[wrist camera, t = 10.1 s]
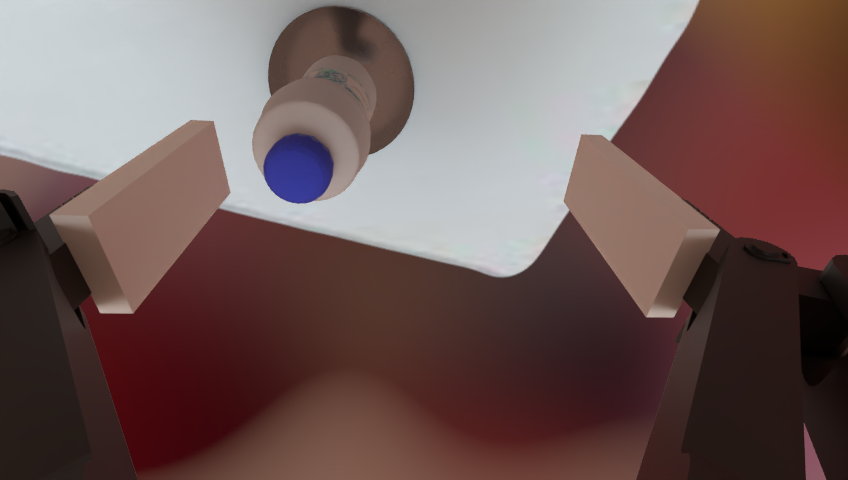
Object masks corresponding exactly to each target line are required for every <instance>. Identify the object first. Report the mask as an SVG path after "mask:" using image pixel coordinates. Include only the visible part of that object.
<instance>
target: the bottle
mask: <svg viewBox="0 0 848 480" xmlns="http://www.w3.org/2000/svg"><path fill="white" fill-rule="evenodd" d="M375 106H376V87H375V84H374V82H373V80H372V78H371V76H370V74H369V73H368V72H367V70H366V69H365V67H364V66H363V65H362V64H361V63H359V62H358V61H356V60H353V59H351V58H348V57H344V56H340V55H331V56H327V57H324V58H322V59H320V60H318V61H317V62H315V63H314V64H313V65H312V66H311V67H310V68H309V69H308V70H307V72H306V73H305V74H304V76H303V78H302V79H299V80H296V81H293V82H291V83H289V84H287V85H286V86H284V87H282V88H280V89H279V90H278V91H276V92H275V93H274V94H273V95H272V96H271V97H270V99H269V100H268V102H267V103H266V105H265V107H264V109H263V112H262V115H261V117H260V119H259V121H258V123H257V125H256V127H255V130H254V134H253V141H252V146H253V153H254V158H255V161H256V163H257V165H258V168H259V170H260V171H261V173H262V174H263V176H264V177H265V180H266V182H267V184H268V186H269V187H270V189H271V190H272V191H273V192H274V193H275V194H276V195H277V196H279V197H280V198H282V199H284V200H286V201H288V202H292V203H298V204H299V203H309V202H312V201H320V200H325V199H329V198H332V197H334V196H337V195H338V194H340V193H341V192H343V191H344V190H345V189H346V188H347V187H348V186H349V185H350V184H351V183H352V181H353V180H354V178H355V177H356V175H357V173H358V172H359V171H360V169H361V168H362V167H363V165H364V163H365V162H366V159H367V157H368V154H369V150H370V137H371V131H370V124H369V121H370V119H371V118H372V115H373V113H374V110H375Z"/></svg>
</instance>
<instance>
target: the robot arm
mask: <svg viewBox="0 0 848 480" xmlns="http://www.w3.org/2000/svg"><path fill="white" fill-rule="evenodd" d="M229 194H230V189H229V185H228V181H227V176H226V172H225V168H224V164H223V159H222V155H221V151H220V147H219V142H218V138H217V134H216V130H215V125H214V121H197V120H190V121H189V122H187V123H186V124H184V125H183V126H181V127H180V128H178V129H177V130H175V131H174V132H172V133H171V134H169V135H168V136H166V137H165V138H163V139H162V140H160V141H159V142H157V143H156V144H154V145H153V146H151V147H150V148H148V149H147V150H146V151H144V152H143V153H141V154H140V155H138V156H137V157H135V158H134V159H132V160H131V161H129V162H128V163H126V164H125V165H123V166H122V167H120V168H119V169H117V170H116V171H114V172H113V173H111V174H110V175H108V176H107V177H105V178H104V179H102V180H101V181H99V182H98V183H96V184H94V185H92V186H90V187H87V188H86V189H84V190H83V191H81V192H80V193H78V194H77V195H75V196H74V198H70V199H69V200H67V201H66V202H64V203H63V206H58V207H57V208H56V209H54V210H52V211H51V212H49V213H48V214H46V215H45V216H43V217H42V218H40V219H39V220H37V221H36V222H34V223H33V221H32V220H31V218H30V216H29V214H28V212H27V211H26V209H25V207H24V205H23V203H22V201H21V200H20V198H19V196H18V195H17V194H16V193H15V192H14V191H9V190H0V480H138V479H137V476H136V473H135V470H134V467H133V463H132V461H131V457H130V454H129V451H128V448H127V445H126V441H125V438H124V435H123V432H122V429H121V426H120V423H119V419H118V416H117V413H116V410H115V407H114V404H113V401H112V398H111V395H110V391H109V388H108V385H107V382H106V379H105V376H104V373H103V369H102V366H101V363H100V360H99V357H98V354H97V351H96V348H95V344H94V341H93V338H92V335H91V332H90V329H89V326H88V322H87V319H86V317H85V315H84V313H83V311H82V309H81V308H80V306H79V305H80V304H81V303H82V302H83V301H84V300H85V299H86V298H87V297H88V296H89V295H90V294H91V296H92V298H93V300H94V302H95V304H96V305H97V307H98V309H99V311H100V313H134V311H135V310H136V309H137V308H138V306H139V305H140V304H141V303H142V301H143V300H144V299H145V298H146V297H147V295H148V294H149V293H150V292H151V290H152V289H153V288H154V287H155V285H156V284H157V283H158V282H159V280H160V279H161V278H162V277H163V276H164V274H165V273H166V272H167V271H168V269H169V268H170V267H171V265H172V264H173V263H174V262H175V261H176V259H177V258H178V257H179V256H180V254H181V253H182V252H183V251H184V249H185V248H186V247H187V246H188V245H189V243H190V242H191V241H192V240H193V238H194V237H195V236H196V234H197V233H198V232H199V231H200V230H201V228H202V227H203V226H204V225H205V223H206V222H207V221H208V220H209V218H210V217H211V215H213V214H214V212H215V211H216V210H217V209H218V207H219V206H220V205H221V204H222V202H223V201H224V200H225V199H226V197H227V196H228V195H229ZM564 203H565V204H566V205H567V207H568V208H569V210H570V211H571V212H572V214H573V215H574V217H575V218H576V219H577V221H578V222H579V223H580V225H581V226H582V228H583V229H584V231H585V232H586V233H587V235H588V236H589V238H590V239H591V240H592V242H593V243H594V244H595V246H596V247H597V249H598V250H599V251H600V253H601V254H602V256H603V257H604V258H605V260H606V261H607V263H608V264H609V266H610V267H611V268H612V269H613V271H614V273H615V274H616V275H617V277H618V278H619V279H620V281H621V282H622V284H623V285H624V286H625V288H626V289H627V291H628V292H629V294H630V295H631V296H632V298H633V299H634V301H635V302H636V303H637V305H638V306H639V308H640V309H641V310H642V312H643V313H644V315H645V316H646V317H674V316H675V314H676V312H677V310H678V308H679V307H680V305H681V303H682V301H683V299H684V300H685V301H686V303H687V304H688V305H689V306H690V307H691V308H692V309H693V310H692V311H691V313H690V315H689V317H688V319H687V320H686V322H685V324H684V326H683V328H682V330H681V331H680V333H679V335H678V337H677V338H676V340H675V342H677V343H679V345H678V349H677V352H676V355H675V358H674V361H673V364H672V368H671V371H670V374H669V377H668V381H667V384H666V387H665V390H664V393H663V396H662V399H661V403H660V406H659V409H658V412H657V415H656V418H655V422H654V425H653V428H652V431H651V434H650V437H649V441H648V444H647V447H646V451H645V453H644V456H643V460H642V463H641V466H640V470H639V472H638V475H637V479H636V480H806V474H805V448H804V423H805V426H806V428H807V431H808V433H809V436H810V438H811V441H812V444H813V446H814V449H815V451H816V454H817V457H818V459H819V461H820V464H821V467H822V469H823V472H824V474H825V477H826V480H848V255H836V256H835V257H833V258H832V259H831V260H830V262H829V263H828V264H827V266H826V267H825V269H824V270H823V271H820V270H815V269H809V268H804V267H799V266H797V262H796V260H795V258H794V257H793V256H791V254H789V253H788V252H787V251H785V250H783V249H781V248H779V247H777V246H775V245H773V244H771V243H768V242H765V241H761V240H757V239H753V238H743V237H740V238H735V237H733V236H732V235H731V234H729V233H728V232H727V231H726V230H724V229H723V228H722V227H721V226H719V225H718V224H717V223H716V222H714V221H713V220H709V217H708V216H707V215H705V214H704V213H703V212H700V210H699V209H698V208H696V207H695V206H694V205H693V204H691V203H690V202H689V201H687V200H684V199H683V198H680V197H678V196H677V195H676V194H675V193H674V192H672V191H671V190H670V189H669V188H667V187H666V186H665V185H664V184H662V183H661V182H660V181H659V180H657V179H656V178H655V177H653V176H652V175H651V174H650V173H648V172H647V171H646V170H645V169H643V168H642V167H641V166H640V165H638V164H637V163H636V162H635V161H633V160H632V159H631V158H630V157H628V156H627V155H626V154H625V153H623V152H622V151H621V150H620V149H618V148H617V147H616V146H615V145H613V144H612V143H611V142H610V141H608V140H607V139H606V138H605V137H603V136H602V135H581V138H580V142H579V146H578V149H577V153H576V157H575V161H574V164H573V168H572V172H571V176H570V179H569V183H568V187H567V190H566V194H565V198H564Z"/></svg>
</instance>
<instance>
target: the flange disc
mask: <svg viewBox="0 0 848 480" xmlns="http://www.w3.org/2000/svg"><path fill="white" fill-rule="evenodd" d="M331 55H340V56H344V57H348V58H351V59H353V60H356V61H358V62H359V63H361V64H362V65H363V66H364V67H365V69H366V70H367V72H368V73H369V74H370V76H371V78H372V80H373V82H374V84H375V87H376V106H375V110H374V113H373V115H372V118H371V119H370V121H369V124H370V131H371V137H370V150H369V154H372V153H375V152H377V151H379V150H381V149H382V148H384V147H385V146H387V145H388V144H390V143H391V142H392V141H393V140H394V139H395V138H396V137H397V136H398V134H399V133H400V132H401V131H402V129H403V127H404V126H405V124H406V122H407V120H408V118H409V115H410V112H411V109H412V105H413V99H414V81H413V74H412V69H411V66H410V63H409V60H408V57H407V55H406V53H405V51H404V49H403V47H402V45H401V44H400V42H399V41H398V39H397V38H396V37H395V36H394V34H393V33H392V32H391V31H390V30H389V29H388V28H387V27H386V26H385V25H384V24H382V23H381V22H380V21H378V20H377V19H375V18H374V17H372V16H370V15H368V14H366V13H364V12H361V11H359V10H356V9H352V8H347V7H337V6H334V7H324V8H319V9H315V10H312V11H310V12H307V13H305V14H303V15H301V16H300V17H298V18H296V19H295V20H294V21H293V22H292V23H290V24H289V25H288V26H287V27H286V28H285V30H284V31H283V32H282V33H281V35H280V36H279V38H278V40H277V41H276V43H275V46H274V48H273V50H272V54H271V57H270V62H269V69H268V81H269V88H270V93H271V96H272V95H273V94H274V93H275V92H276V91H278V90H279V89H280V88H282V87H284V86H286V85H287V84H289V83H291V82H293V81H296V80H299V79H302V78H303V76H304V74H305V73H306V72H307V70H308V69H309V68H310V67H311V66H312V65H313V64H314V63H315V62H317V61H318V60H320V59H322V58H324V57H327V56H331ZM369 154H368V155H369Z"/></svg>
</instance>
